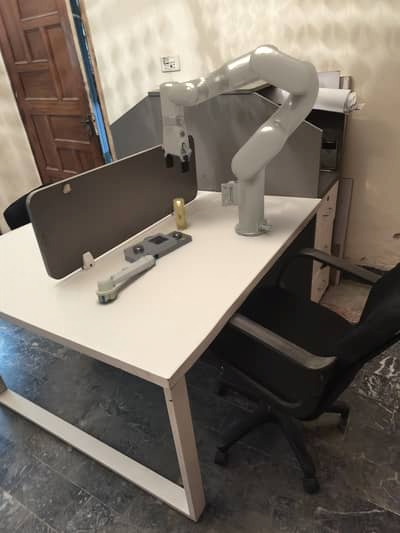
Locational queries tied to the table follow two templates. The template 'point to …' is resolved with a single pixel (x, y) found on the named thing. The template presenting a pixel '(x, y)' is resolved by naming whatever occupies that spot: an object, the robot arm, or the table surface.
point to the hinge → (229, 193)
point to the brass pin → (180, 214)
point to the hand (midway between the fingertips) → (177, 169)
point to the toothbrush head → (122, 277)
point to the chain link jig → (157, 245)
